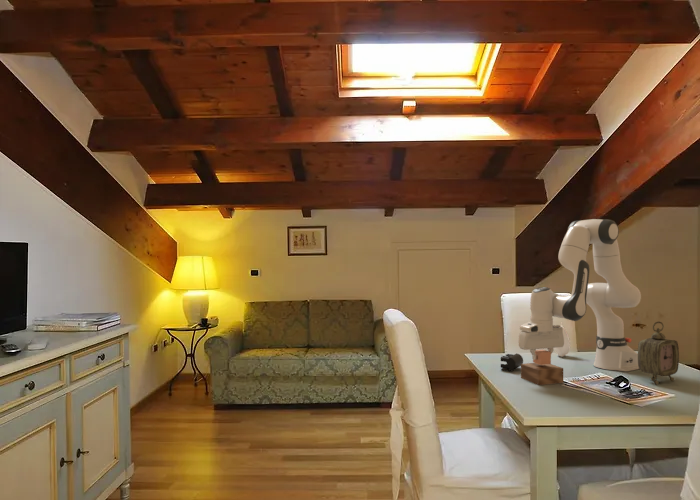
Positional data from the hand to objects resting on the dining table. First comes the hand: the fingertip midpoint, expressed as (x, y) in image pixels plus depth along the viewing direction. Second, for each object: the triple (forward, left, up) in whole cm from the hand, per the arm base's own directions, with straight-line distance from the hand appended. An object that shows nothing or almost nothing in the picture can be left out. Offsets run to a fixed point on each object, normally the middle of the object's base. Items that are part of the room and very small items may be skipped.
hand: (541, 358), depth 216 cm
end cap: (+1, -20, -9) cm, 22 cm away
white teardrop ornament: (-39, -36, -9) cm, 54 cm away
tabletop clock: (-44, +16, -9) cm, 48 cm away
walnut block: (0, 0, -9) cm, 9 cm away
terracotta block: (0, 0, -2) cm, 2 cm away
